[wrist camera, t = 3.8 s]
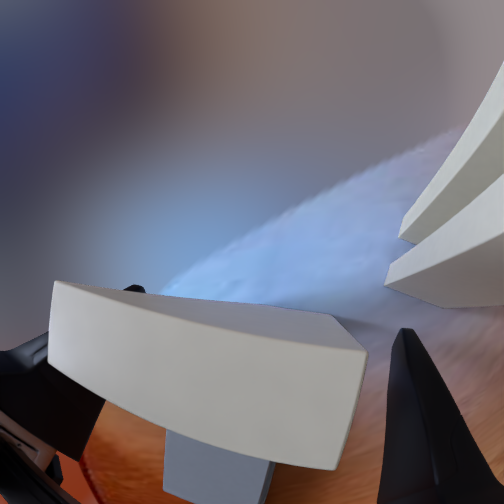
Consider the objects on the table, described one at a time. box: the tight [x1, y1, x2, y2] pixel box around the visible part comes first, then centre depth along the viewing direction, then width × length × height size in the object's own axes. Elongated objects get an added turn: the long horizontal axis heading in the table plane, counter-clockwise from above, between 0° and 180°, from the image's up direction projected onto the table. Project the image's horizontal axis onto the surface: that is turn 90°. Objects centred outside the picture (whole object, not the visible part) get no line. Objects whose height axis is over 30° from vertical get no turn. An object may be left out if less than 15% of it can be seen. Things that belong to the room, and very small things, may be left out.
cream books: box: [384, 62, 504, 308], centre depth 9 cm, size 5×5×16 cm
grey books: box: [163, 429, 277, 504], centre depth 16 cm, size 11×8×3 cm
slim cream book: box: [48, 280, 369, 470], centre depth 11 cm, size 2×5×16 cm, turn 81°
